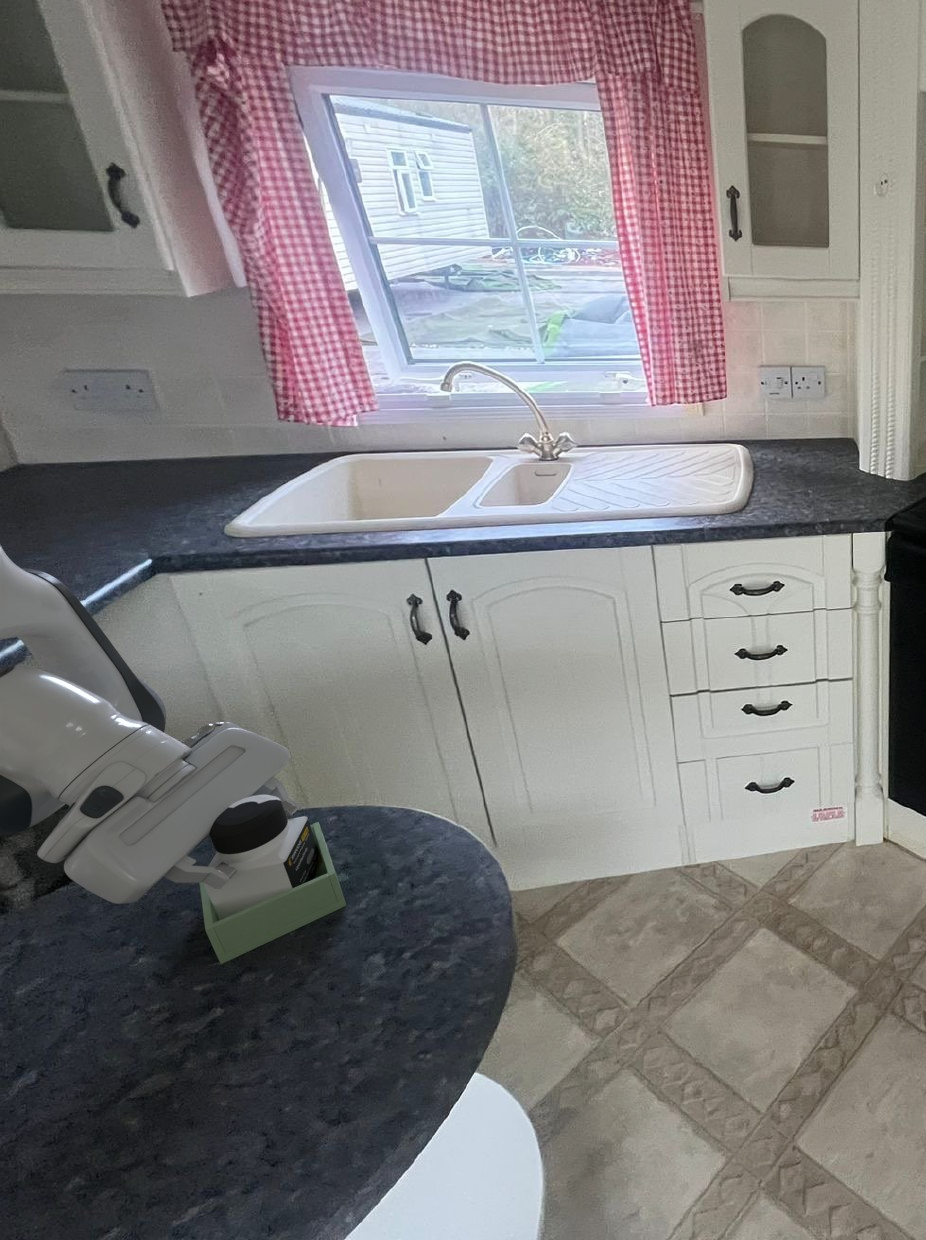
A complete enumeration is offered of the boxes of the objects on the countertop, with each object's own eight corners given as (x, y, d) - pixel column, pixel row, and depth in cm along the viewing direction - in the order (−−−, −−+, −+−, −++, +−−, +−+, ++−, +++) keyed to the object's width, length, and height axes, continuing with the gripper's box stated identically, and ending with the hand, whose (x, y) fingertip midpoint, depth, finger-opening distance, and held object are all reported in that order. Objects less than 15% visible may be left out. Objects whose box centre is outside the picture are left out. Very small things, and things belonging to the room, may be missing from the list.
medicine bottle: (301, 908, 86) (271, 825, 82) (220, 926, 83) (183, 841, 79) (323, 860, 92) (296, 780, 88) (248, 876, 90) (216, 794, 85)
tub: (220, 964, 81) (205, 930, 80) (212, 902, 88) (197, 869, 86) (346, 905, 89) (335, 873, 87) (329, 852, 95) (318, 821, 94)
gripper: (202, 731, 91) (313, 795, 96) (18, 870, 72) (167, 942, 77) (231, 699, 90) (342, 766, 94) (51, 832, 71) (201, 907, 75)
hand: (262, 846), depth 85 cm, fingers closed on medicine bottle, 8 cm apart
